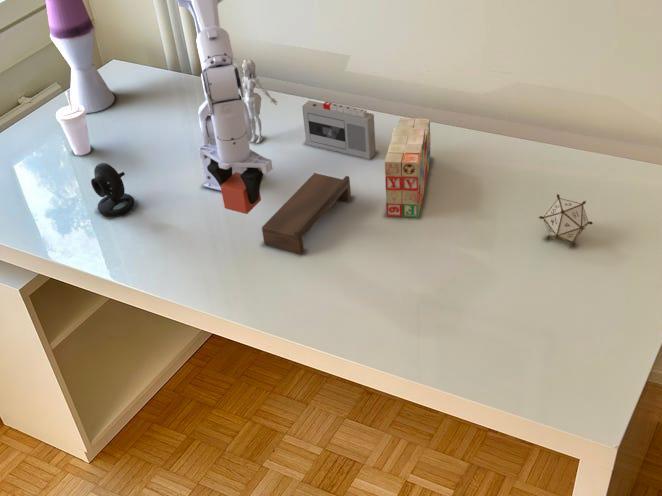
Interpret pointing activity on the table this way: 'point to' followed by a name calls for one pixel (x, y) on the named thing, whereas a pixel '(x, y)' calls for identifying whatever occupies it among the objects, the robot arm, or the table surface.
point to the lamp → (78, 53)
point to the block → (237, 195)
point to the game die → (566, 220)
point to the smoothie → (75, 126)
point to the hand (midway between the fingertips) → (241, 197)
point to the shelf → (304, 211)
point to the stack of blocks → (407, 167)
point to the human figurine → (253, 96)
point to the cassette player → (339, 128)
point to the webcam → (110, 191)
